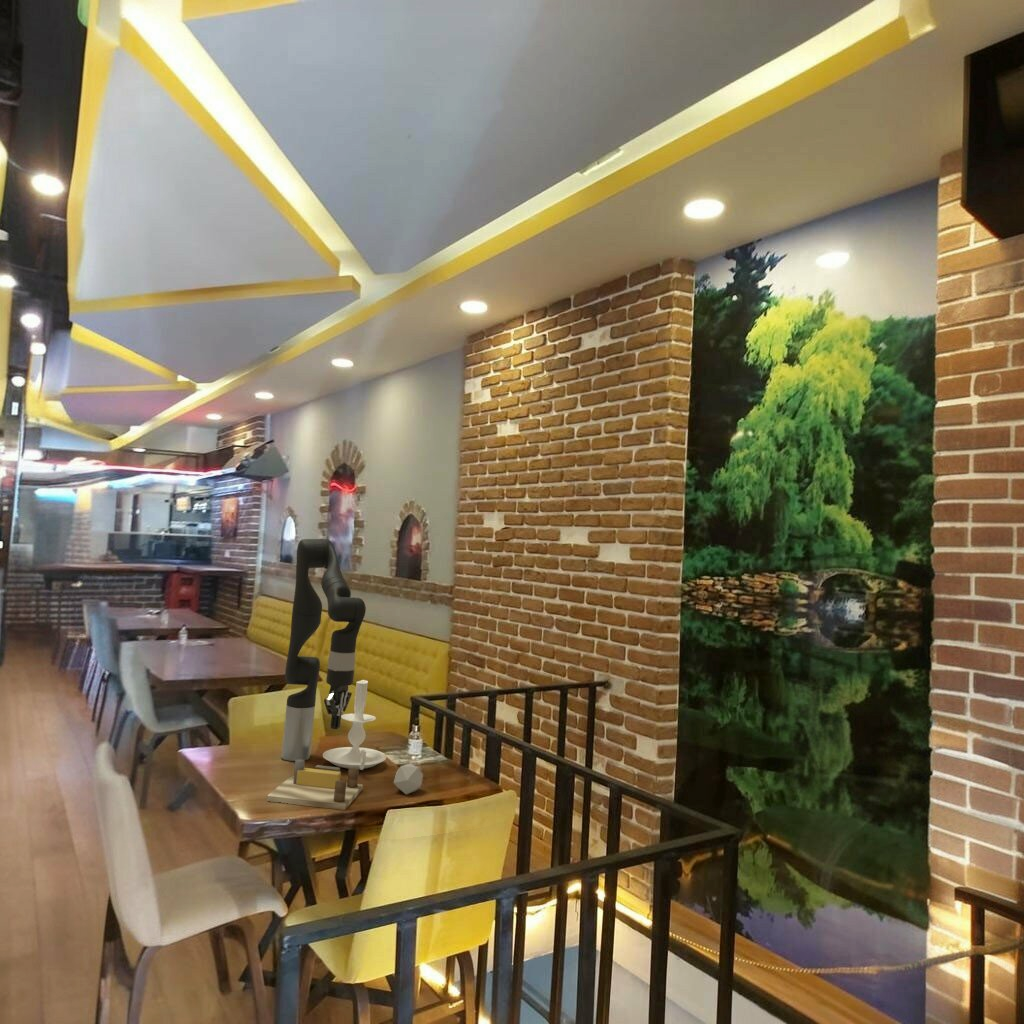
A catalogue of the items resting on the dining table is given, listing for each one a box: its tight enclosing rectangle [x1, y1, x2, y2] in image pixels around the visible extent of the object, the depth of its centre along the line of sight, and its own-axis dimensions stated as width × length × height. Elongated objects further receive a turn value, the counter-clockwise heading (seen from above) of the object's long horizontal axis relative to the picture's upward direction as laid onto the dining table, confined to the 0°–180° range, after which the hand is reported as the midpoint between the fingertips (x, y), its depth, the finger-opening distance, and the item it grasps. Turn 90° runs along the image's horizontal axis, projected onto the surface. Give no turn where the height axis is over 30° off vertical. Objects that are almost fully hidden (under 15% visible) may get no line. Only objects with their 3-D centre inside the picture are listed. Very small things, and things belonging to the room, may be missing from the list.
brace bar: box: [293, 759, 342, 789], centre depth 220 cm, size 13×3×6 cm, turn 86°
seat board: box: [266, 764, 364, 811], centre depth 216 cm, size 18×22×6 cm
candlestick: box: [322, 679, 387, 771], centre depth 246 cm, size 21×25×28 cm
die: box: [393, 762, 424, 796], centre depth 226 cm, size 8×9×10 cm
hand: (335, 728), depth 215 cm, fingers closed
